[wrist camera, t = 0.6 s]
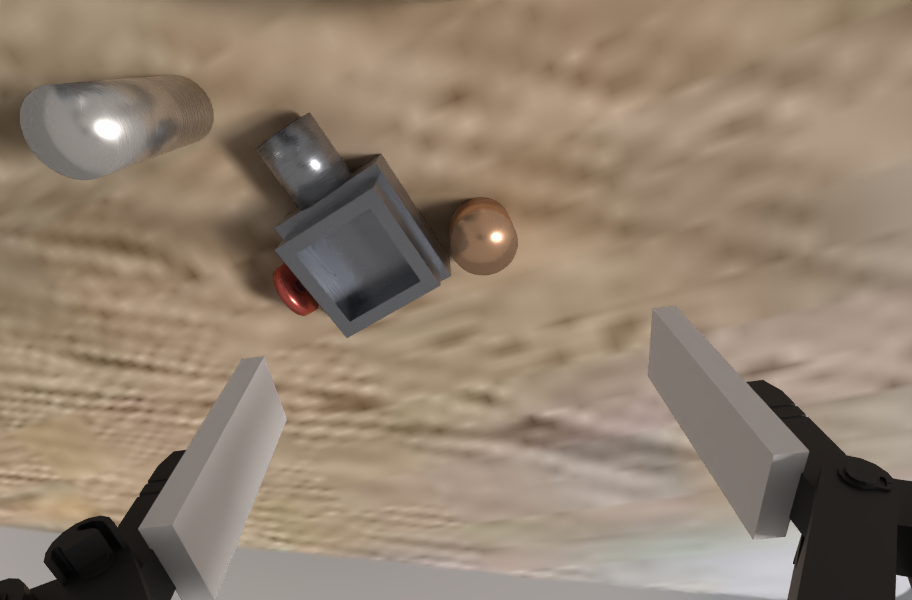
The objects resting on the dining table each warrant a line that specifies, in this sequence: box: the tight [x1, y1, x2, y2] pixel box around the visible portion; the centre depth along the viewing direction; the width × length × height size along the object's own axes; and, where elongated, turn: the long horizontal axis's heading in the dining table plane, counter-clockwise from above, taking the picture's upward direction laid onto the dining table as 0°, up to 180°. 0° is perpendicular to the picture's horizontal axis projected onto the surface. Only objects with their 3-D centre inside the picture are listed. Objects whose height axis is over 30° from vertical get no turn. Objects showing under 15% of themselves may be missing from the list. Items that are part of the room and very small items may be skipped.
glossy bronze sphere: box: [450, 197, 518, 275], centre depth 39 cm, size 5×5×4 cm
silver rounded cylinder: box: [20, 75, 214, 180], centre depth 30 cm, size 5×5×12 cm
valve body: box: [255, 113, 451, 338], centre depth 37 cm, size 15×12×6 cm
